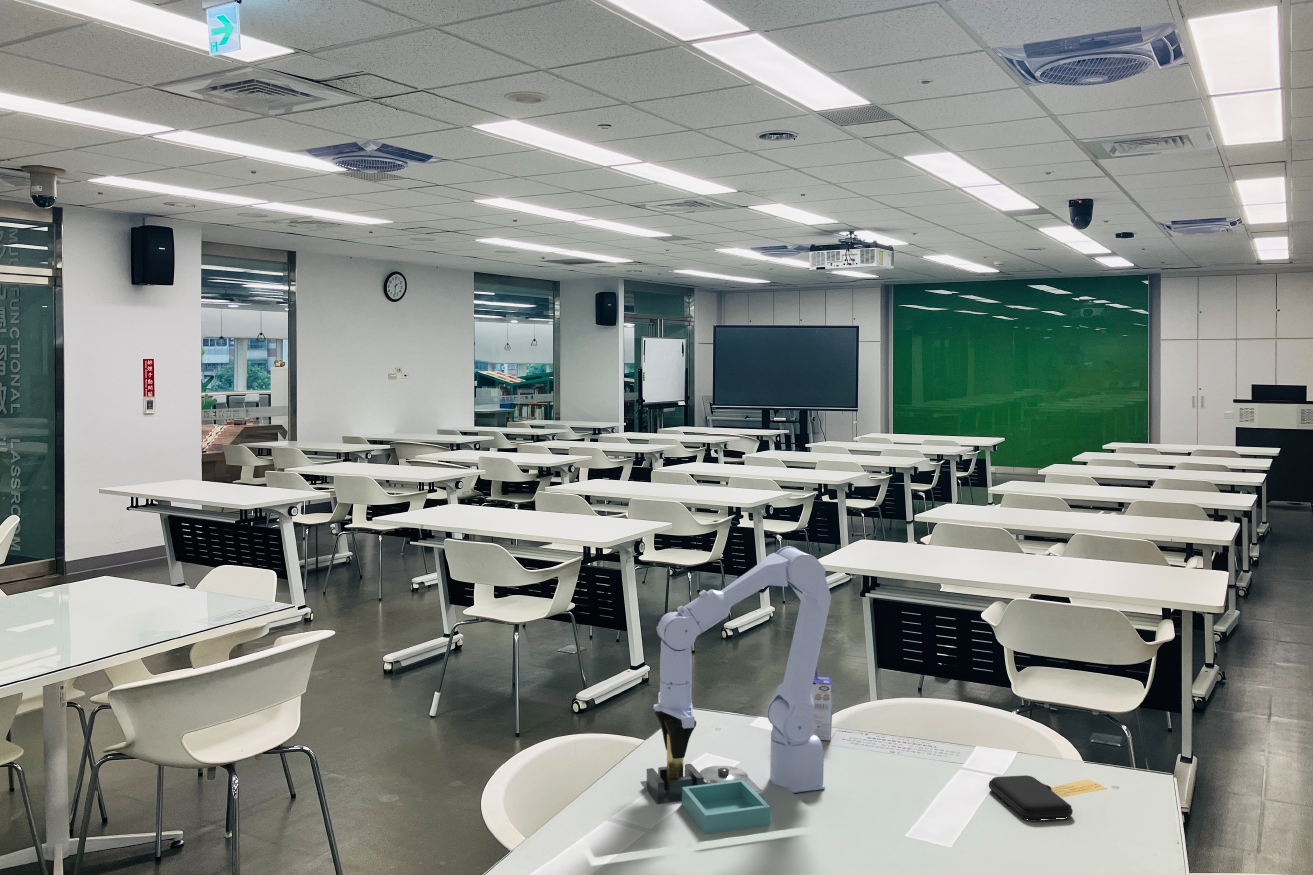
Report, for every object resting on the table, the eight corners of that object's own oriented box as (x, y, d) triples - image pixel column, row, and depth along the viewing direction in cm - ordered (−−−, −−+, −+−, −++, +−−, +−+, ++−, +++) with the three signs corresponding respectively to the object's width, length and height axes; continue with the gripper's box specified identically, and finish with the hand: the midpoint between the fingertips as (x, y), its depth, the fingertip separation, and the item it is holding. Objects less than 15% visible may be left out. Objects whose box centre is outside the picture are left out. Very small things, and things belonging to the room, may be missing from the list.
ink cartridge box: (830, 732, 207) (832, 665, 206) (832, 741, 201) (833, 673, 201) (784, 729, 208) (785, 663, 207) (784, 738, 203) (785, 671, 202)
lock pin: (680, 772, 176) (680, 729, 176) (685, 778, 173) (685, 735, 173) (664, 774, 175) (664, 731, 175) (669, 780, 172) (670, 737, 172)
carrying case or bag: (1083, 822, 166) (1037, 787, 180) (1083, 805, 165) (1038, 771, 180) (1025, 825, 164) (984, 789, 179) (1026, 808, 164) (984, 773, 178)
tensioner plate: (740, 774, 184) (740, 753, 184) (761, 795, 174) (761, 774, 174) (640, 786, 178) (640, 765, 177) (656, 809, 168) (657, 787, 168)
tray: (742, 801, 172) (743, 779, 172) (770, 829, 161) (770, 806, 161) (681, 809, 168) (682, 787, 168) (705, 839, 157) (705, 815, 157)
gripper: (642, 670, 179) (642, 741, 180) (667, 694, 165) (666, 771, 166) (678, 667, 181) (677, 737, 182) (705, 690, 167) (705, 766, 168)
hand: (675, 753), depth 174 cm, fingers closed on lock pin, 3 cm apart
